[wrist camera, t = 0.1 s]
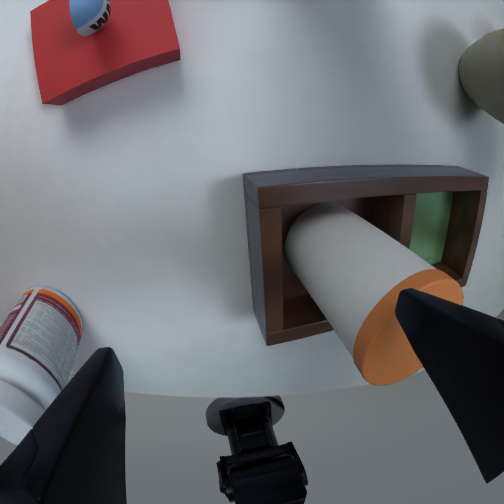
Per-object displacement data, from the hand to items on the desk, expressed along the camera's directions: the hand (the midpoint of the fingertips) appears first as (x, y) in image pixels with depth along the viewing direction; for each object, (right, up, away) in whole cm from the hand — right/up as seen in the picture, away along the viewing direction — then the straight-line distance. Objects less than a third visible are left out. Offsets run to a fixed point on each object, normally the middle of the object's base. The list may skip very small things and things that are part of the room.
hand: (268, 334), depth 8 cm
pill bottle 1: (-17, -3, +11) cm, 20 cm away
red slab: (-9, +16, +4) cm, 19 cm away
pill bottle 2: (+5, +3, +13) cm, 14 cm away
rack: (+9, +4, +14) cm, 18 cm away
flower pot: (+21, +19, +10) cm, 30 cm away
